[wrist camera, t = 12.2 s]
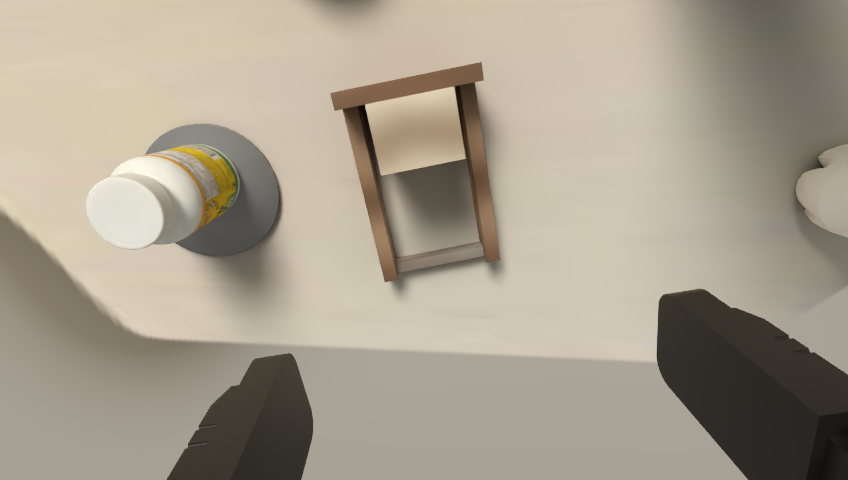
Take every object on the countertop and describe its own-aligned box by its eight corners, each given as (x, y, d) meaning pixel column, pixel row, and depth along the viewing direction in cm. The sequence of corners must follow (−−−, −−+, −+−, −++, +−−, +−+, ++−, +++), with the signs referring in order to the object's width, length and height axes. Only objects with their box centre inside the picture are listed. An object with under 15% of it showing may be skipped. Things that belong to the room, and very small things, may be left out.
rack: (343, 93, 31) (324, 93, 23) (466, 68, 31) (487, 59, 23) (386, 269, 35) (381, 317, 28) (493, 248, 35) (518, 290, 28)
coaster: (121, 138, 31) (116, 139, 31) (255, 111, 31) (253, 111, 30) (173, 263, 34) (169, 266, 34) (295, 239, 34) (293, 242, 34)
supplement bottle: (218, 131, 31) (141, 147, 22) (255, 199, 32) (197, 240, 23) (152, 160, 31) (49, 186, 22) (192, 225, 33) (110, 275, 24)
